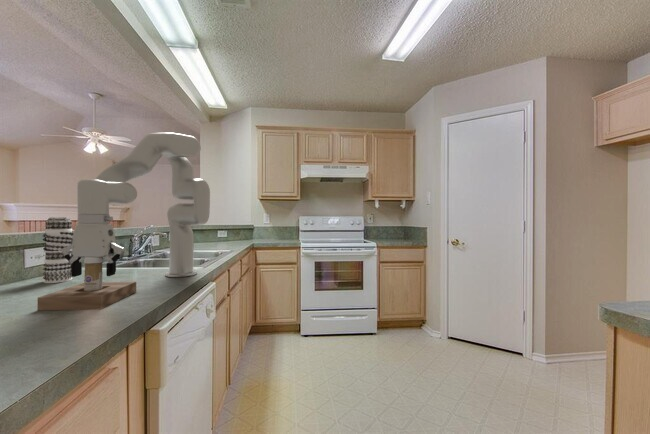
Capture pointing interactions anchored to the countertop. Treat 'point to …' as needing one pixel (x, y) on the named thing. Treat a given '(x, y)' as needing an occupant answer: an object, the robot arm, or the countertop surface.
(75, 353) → the countertop surface
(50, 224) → the decorative candle
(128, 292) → the walnut hole board
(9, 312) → the countertop surface
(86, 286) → the sprinkles bottle
